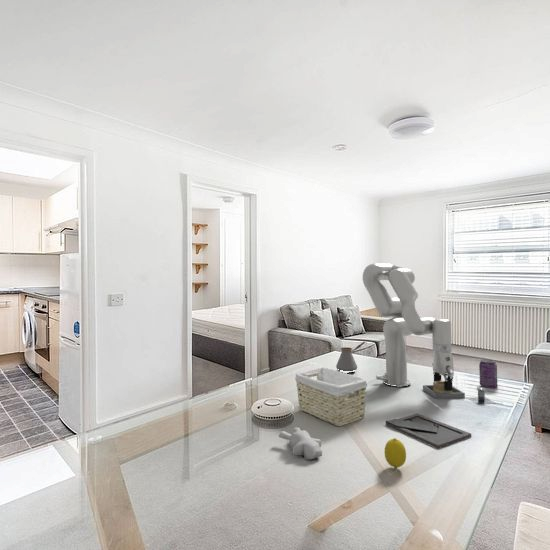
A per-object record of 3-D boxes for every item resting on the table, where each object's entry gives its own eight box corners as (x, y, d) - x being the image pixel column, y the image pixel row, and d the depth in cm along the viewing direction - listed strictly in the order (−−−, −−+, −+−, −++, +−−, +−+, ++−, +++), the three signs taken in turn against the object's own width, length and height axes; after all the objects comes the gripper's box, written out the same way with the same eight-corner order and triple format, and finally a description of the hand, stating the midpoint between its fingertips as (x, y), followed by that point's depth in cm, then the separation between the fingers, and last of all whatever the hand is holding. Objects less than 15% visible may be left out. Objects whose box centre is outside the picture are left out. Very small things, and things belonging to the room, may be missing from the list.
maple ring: (438, 396, 157) (438, 385, 157) (431, 391, 164) (431, 380, 164) (454, 395, 157) (454, 385, 157) (446, 390, 164) (446, 380, 164)
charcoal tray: (435, 399, 154) (435, 393, 154) (422, 390, 167) (422, 385, 167) (464, 399, 154) (464, 393, 154) (450, 390, 167) (450, 384, 167)
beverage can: (492, 384, 174) (492, 359, 174) (500, 389, 167) (499, 362, 167) (477, 384, 175) (476, 359, 175) (484, 388, 168) (483, 362, 168)
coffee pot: (347, 375, 195) (346, 347, 195) (331, 371, 204) (331, 344, 204) (374, 369, 207) (373, 342, 207) (358, 365, 216) (357, 340, 216)
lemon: (381, 463, 102) (381, 434, 102) (401, 462, 102) (400, 433, 103) (389, 474, 96) (388, 443, 97) (410, 473, 97) (409, 442, 97)
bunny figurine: (302, 451, 102) (275, 426, 115) (301, 468, 102) (275, 442, 115) (330, 443, 107) (301, 420, 120) (329, 460, 107) (300, 435, 120)
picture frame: (385, 426, 129) (438, 450, 110) (385, 420, 129) (438, 444, 110) (417, 417, 137) (471, 438, 118) (417, 412, 137) (471, 432, 118)
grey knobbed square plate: (477, 405, 147) (476, 391, 147) (466, 398, 155) (466, 385, 155) (497, 404, 147) (496, 391, 147) (485, 398, 155) (485, 385, 155)
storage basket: (369, 418, 135) (369, 378, 135) (338, 430, 125) (337, 386, 126) (324, 402, 154) (323, 366, 154) (294, 410, 145) (293, 372, 145)
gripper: (460, 351, 152) (461, 393, 152) (441, 343, 169) (442, 381, 169) (442, 351, 152) (443, 393, 152) (425, 344, 169) (425, 381, 169)
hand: (442, 387), depth 161 cm, fingers open, 9 cm apart
